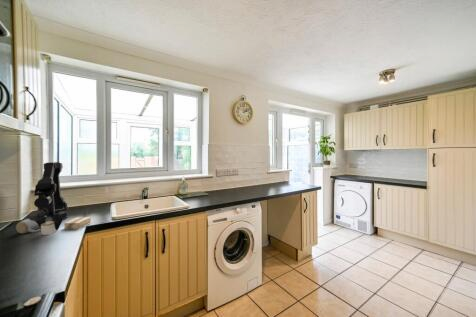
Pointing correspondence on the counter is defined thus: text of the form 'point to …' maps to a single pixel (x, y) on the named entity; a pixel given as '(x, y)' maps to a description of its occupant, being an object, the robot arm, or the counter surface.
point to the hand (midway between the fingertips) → (49, 229)
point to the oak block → (77, 223)
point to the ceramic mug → (27, 226)
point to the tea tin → (48, 228)
